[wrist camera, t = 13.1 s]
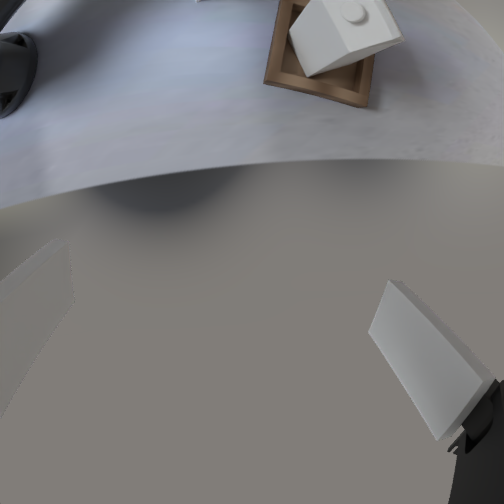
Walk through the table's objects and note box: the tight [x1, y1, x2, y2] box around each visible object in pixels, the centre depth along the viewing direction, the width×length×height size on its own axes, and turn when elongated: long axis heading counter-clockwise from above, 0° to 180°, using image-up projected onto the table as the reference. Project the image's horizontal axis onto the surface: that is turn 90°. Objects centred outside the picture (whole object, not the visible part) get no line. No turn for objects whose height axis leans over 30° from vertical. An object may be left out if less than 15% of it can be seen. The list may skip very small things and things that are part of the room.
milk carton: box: [287, 0, 405, 77], centre depth 26 cm, size 7×7×19 cm
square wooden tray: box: [263, 0, 375, 108], centre depth 34 cm, size 14×14×3 cm
